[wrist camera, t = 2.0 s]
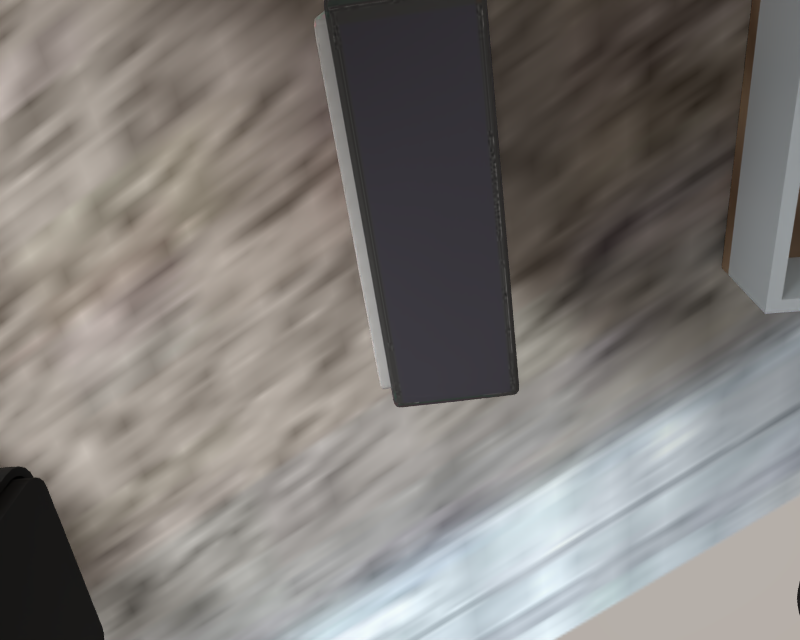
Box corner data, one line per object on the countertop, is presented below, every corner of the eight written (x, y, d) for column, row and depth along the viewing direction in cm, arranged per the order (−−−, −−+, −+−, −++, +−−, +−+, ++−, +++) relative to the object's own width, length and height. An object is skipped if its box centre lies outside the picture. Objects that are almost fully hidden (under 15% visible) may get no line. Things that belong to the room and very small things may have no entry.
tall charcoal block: (343, -28, 29) (285, 0, 16) (451, -46, 29) (484, -31, 16) (385, 231, 34) (368, 418, 21) (478, 219, 34) (521, 401, 21)
